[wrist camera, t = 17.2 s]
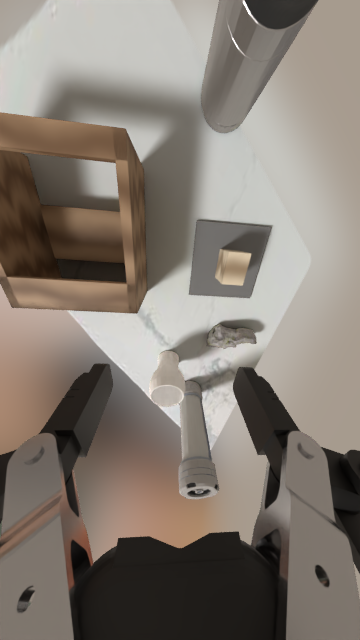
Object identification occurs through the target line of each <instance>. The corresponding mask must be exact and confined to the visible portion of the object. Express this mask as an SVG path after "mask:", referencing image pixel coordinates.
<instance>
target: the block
mask: <svg viewBox="0 0 360 640" xmlns="http://www.w3.org/2000/svg"><path fill="white" fill-rule="evenodd" d="M250 258H251V253H247V252H243V251H237V250H226V249H220V252H219V258H218V263H217V268H216V274H215V278H216V279H217V280H218V281H219V282H220V283H221V284H226V285H240V286H243V283H244V279H245V276H246V272H247V268H248V265H249V261H250Z"/></svg>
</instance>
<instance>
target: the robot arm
mask: <svg viewBox="0 0 360 640" xmlns="http://www.w3.org/2000/svg"><path fill="white" fill-rule="evenodd" d="M317 2H318V0H219V4H218V9H217V14H216V19H215V24H214V29H213V34H212V39H211V44H210V49H209V54H208V59H207V64H206V69H205V74H204V79H203V84H202V92H201V104H202V109H203V113H204V116H205V119H206V121H207V122H208V124H209V125H210V126H211V128H212V129H214V130H215V131H217V132H220V133H228V132H231V131H233V130H235V129H236V128H237V127H238V126H239V125H240V124H241V123H242V122H243V120H244V119H245V117H246V116H247V114H248V113H249V111H250V109H251V108H252V106H253V105H254V103H255V102H256V100H257V98H258V97H259V95H260V94H261V92H262V90H263V89H264V87H265V86H266V84H267V82H268V80H269V79H270V77H271V76H272V74H273V72H274V71H275V70H276V68H277V66H278V65H279V63H280V61H281V60H282V58H283V57H284V55H285V53H286V52H287V50H288V49H289V47H290V45H291V44H292V42H293V41H294V39H295V37H296V36H297V34H298V32H299V31H300V29H301V27H302V26H303V24H304V23H305V21H306V19H307V18H308V16H309V15H310V13H311V11H312V10H313V8H314V7H315V5H316V3H317ZM112 387H113V379H112V375H111V369H110V365H109V364H94V365H93V367H92V369H91V370H90V372H89V373H83V374H82V375H81V376H80V377H78V379H76V380H75V381H74V383H73V384H72V386H71V387H70V390H69V391H68V392H67V393H66V395H65V397H64V398H63V399H62V401H61V402H60V404H59V405H58V407H57V408H56V410H55V411H54V413H53V414H52V416H51V417H50V419H49V420H48V422H47V423H46V425H45V426H44V428H43V429H42V430H41V432H40V433H39V434H38V435H36V436H34V437H32V438H30V439H28V440H27V441H26V442H24V443H23V444H22V445H21V446H20V447H19V448H18V449H17V450H14V451H11V452H9V453H6V454H2V455H0V523H1V521H2V531H1V538H0V640H360V599H359V594H358V588H357V582H356V576H355V570H354V564H355V565H356V568H357V569H358V571H359V573H360V451H357V450H350V451H348V452H347V453H346V454H345V455H343V454H340V453H337V452H334V451H331V450H329V449H326V448H323V447H320V446H319V444H318V443H317V442H316V441H315V440H314V439H312V438H311V437H310V436H308V435H307V434H304V433H303V432H301V431H300V430H299V429H298V427H297V426H296V424H295V423H294V421H293V420H292V418H291V417H290V415H289V413H288V412H287V410H286V409H285V407H284V406H283V404H282V403H281V401H280V400H279V398H278V397H277V395H276V393H274V391H273V389H272V387H271V386H270V384H269V383H268V382H267V381H266V380H265V379H264V378H263V377H261V376H258V375H257V373H256V372H255V370H254V369H253V368H252V367H239V369H238V371H237V374H236V377H235V380H234V383H233V391H234V395H235V397H236V400H237V402H238V405H239V407H240V410H241V413H242V415H243V417H244V420H245V423H246V425H247V428H248V431H249V433H250V436H251V438H252V441H253V444H254V446H255V449H256V451H257V454H258V455H266V456H267V458H268V463H267V468H266V476H265V482H264V489H263V495H262V502H261V508H260V512H259V515H258V517H257V520H256V523H255V526H254V531H253V537H252V543H251V545H249V544H247V543H246V542H244V541H242V540H240V536H239V532H223V533H222V532H221V533H209V534H208V535H206V536H204V537H202V538H200V539H198V540H197V541H195V542H193V543H191V544H189V545H187V546H185V547H184V548H176V547H173V546H171V545H168V544H166V543H164V542H161V541H159V540H156V539H154V538H152V537H130V538H118V543H117V546H116V547H114V548H112V549H111V550H109V551H107V552H106V553H105V554H103V555H102V556H101V557H100V558H99V559H98V560H97V561H95V562H94V563H93V559H92V553H91V548H90V544H89V539H88V534H87V530H86V527H85V524H84V521H83V518H82V513H81V508H80V503H79V497H78V491H77V486H76V480H75V475H74V469H73V467H74V464H75V462H76V460H77V458H78V457H86V456H87V453H88V450H89V448H90V445H91V443H92V440H93V437H94V435H95V433H96V430H97V428H98V425H99V422H100V420H101V417H102V415H103V412H104V410H105V407H106V404H107V402H108V399H109V397H110V394H111V391H112ZM353 562H354V564H353ZM29 602H31V604H30V606H29V607H28V603H29Z"/></svg>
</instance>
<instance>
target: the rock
mask: <svg viewBox="0 0 360 640" xmlns="http://www.w3.org/2000/svg"><path fill="white" fill-rule="evenodd" d="M241 343H251V344H256V336H255V334H254V333H253V330H252V329H247V328H238V329H237V330H236V329H231V328H226V327H223V326H222V325H221V324H218V325H217V326H214V327H213V328H212V330H211V331H210V333H209V336H208V339H207V346H212V347H216V346H217V347H219V348H220V347H221V348H223V349H225V348H227V347H236V344H241Z"/></svg>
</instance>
